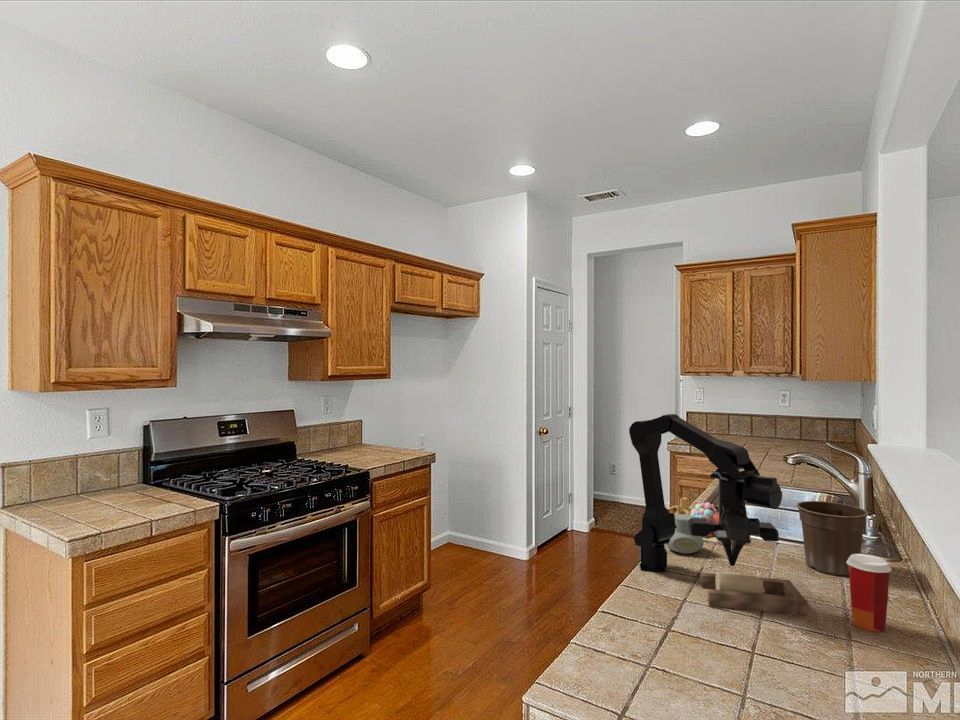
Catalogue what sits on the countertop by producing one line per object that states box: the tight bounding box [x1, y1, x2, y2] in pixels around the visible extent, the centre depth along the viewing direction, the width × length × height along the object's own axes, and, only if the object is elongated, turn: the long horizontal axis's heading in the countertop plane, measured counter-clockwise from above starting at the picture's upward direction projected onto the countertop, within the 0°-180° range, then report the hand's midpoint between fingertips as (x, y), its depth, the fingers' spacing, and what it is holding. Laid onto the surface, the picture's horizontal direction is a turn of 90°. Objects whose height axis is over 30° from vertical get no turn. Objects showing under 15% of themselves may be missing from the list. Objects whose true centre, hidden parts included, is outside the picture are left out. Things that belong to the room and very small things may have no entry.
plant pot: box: [796, 500, 869, 576], centre depth 146 cm, size 16×16×16 cm
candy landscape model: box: [668, 496, 732, 545], centre depth 179 cm, size 25×24×9 cm
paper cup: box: [846, 553, 892, 633], centre depth 115 cm, size 8×8×14 cm
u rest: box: [700, 572, 808, 616], centre depth 127 cm, size 20×12×3 cm, turn 76°
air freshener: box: [665, 514, 705, 555], centre depth 160 cm, size 11×8×10 cm
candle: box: [715, 571, 765, 594], centre depth 128 cm, size 6×6×10 cm
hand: (731, 565), depth 128 cm, fingers closed
